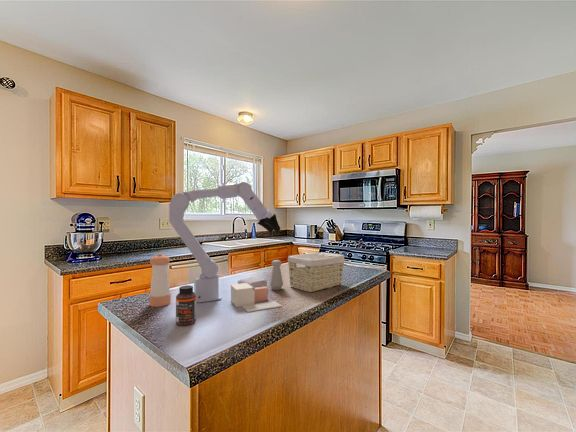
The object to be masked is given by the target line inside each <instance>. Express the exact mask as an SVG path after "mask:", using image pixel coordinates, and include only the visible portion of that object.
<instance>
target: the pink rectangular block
mask: <svg viewBox="0 0 576 432" xmlns="http://www.w3.org/2000/svg"><path fill="white" fill-rule="evenodd" d="M254 292H255V303H258V302H263V301H269V288H268V286H267V287H266V286H264V287H256V288H254Z"/></svg>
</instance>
